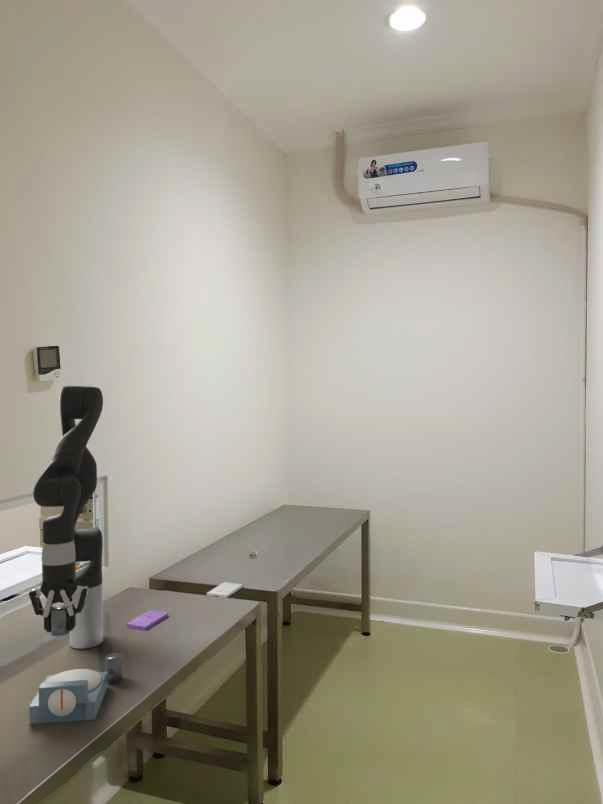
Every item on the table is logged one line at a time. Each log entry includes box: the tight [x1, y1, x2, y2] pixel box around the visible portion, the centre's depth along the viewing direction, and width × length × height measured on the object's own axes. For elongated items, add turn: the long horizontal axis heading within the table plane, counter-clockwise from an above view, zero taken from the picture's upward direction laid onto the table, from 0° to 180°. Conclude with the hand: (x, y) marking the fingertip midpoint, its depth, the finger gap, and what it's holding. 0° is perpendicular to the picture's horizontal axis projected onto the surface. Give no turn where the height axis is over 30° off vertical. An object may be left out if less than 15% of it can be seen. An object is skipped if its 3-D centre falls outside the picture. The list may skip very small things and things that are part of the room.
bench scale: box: [29, 668, 108, 725], centre depth 146 cm, size 16×14×8 cm
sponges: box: [126, 609, 169, 631], centre depth 197 cm, size 7×13×2 cm, turn 159°
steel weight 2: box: [104, 652, 124, 685], centre depth 159 cm, size 4×4×6 cm
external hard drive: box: [206, 581, 244, 599], centre depth 226 cm, size 2×8×12 cm
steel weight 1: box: [49, 604, 70, 637], centre depth 150 cm, size 4×4×6 cm
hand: (60, 630), depth 150 cm, fingers closed on steel weight 1, 4 cm apart
